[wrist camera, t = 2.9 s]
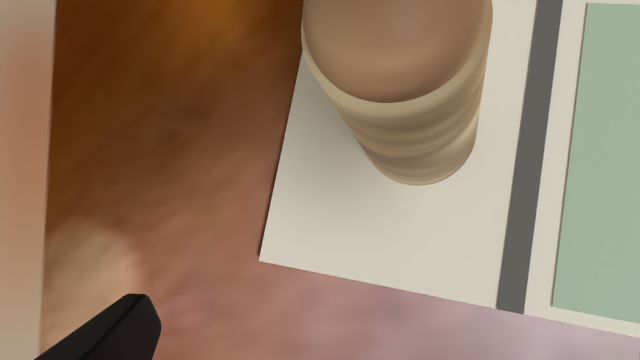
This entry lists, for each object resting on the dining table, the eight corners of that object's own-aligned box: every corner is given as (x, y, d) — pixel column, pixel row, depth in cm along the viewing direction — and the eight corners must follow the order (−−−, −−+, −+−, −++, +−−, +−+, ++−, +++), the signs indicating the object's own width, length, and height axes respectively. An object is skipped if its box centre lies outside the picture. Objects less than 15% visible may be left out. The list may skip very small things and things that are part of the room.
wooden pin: (408, 208, 22) (355, 119, 10) (342, 124, 24) (230, -36, 12) (501, 137, 22) (556, -40, 10) (427, 57, 23) (400, -179, 12)
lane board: (261, 261, 24) (257, 260, 23) (318, -12, 26) (315, -17, 26) (842, 378, 18) (853, 381, 17) (853, 8, 20) (863, 1, 19)
